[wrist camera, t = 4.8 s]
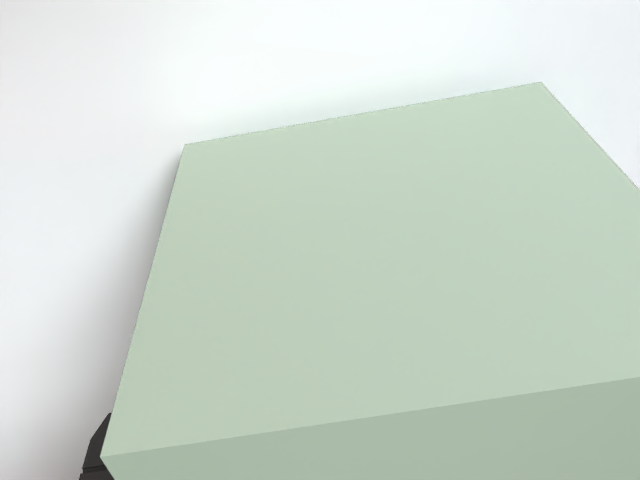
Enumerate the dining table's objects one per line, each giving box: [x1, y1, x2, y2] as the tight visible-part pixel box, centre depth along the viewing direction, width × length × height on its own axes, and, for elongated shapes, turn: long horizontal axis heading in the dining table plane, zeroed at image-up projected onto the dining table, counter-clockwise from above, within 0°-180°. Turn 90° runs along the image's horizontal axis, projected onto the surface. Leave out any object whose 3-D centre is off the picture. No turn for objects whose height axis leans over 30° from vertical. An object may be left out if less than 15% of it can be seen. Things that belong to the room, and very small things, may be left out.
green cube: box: [100, 82, 640, 480], centre depth 11 cm, size 7×7×7 cm
